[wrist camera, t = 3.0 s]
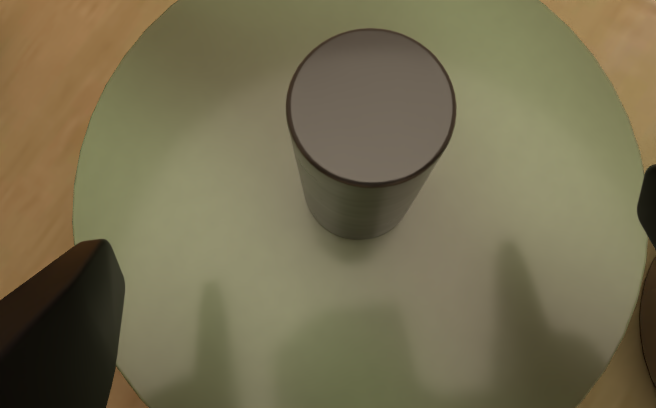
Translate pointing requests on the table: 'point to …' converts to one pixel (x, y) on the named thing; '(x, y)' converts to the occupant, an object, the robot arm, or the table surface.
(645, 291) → the disc
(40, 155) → the table surface
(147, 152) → the lid
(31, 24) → the table surface
